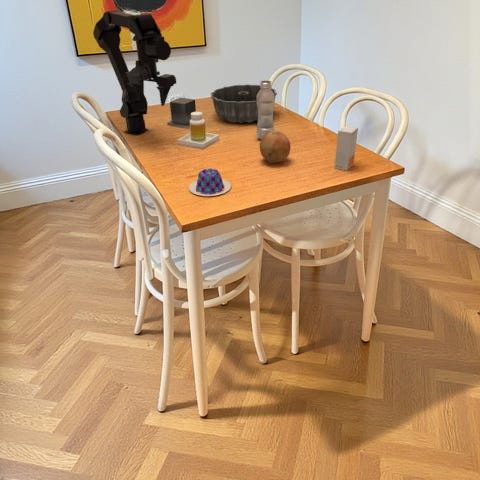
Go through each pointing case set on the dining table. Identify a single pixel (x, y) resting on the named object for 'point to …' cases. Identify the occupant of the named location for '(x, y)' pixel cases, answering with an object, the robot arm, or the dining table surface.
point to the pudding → (209, 183)
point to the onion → (275, 146)
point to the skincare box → (346, 147)
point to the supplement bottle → (197, 127)
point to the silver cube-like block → (181, 112)
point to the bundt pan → (237, 102)
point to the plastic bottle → (265, 109)
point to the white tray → (187, 142)
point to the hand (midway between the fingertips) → (152, 104)
